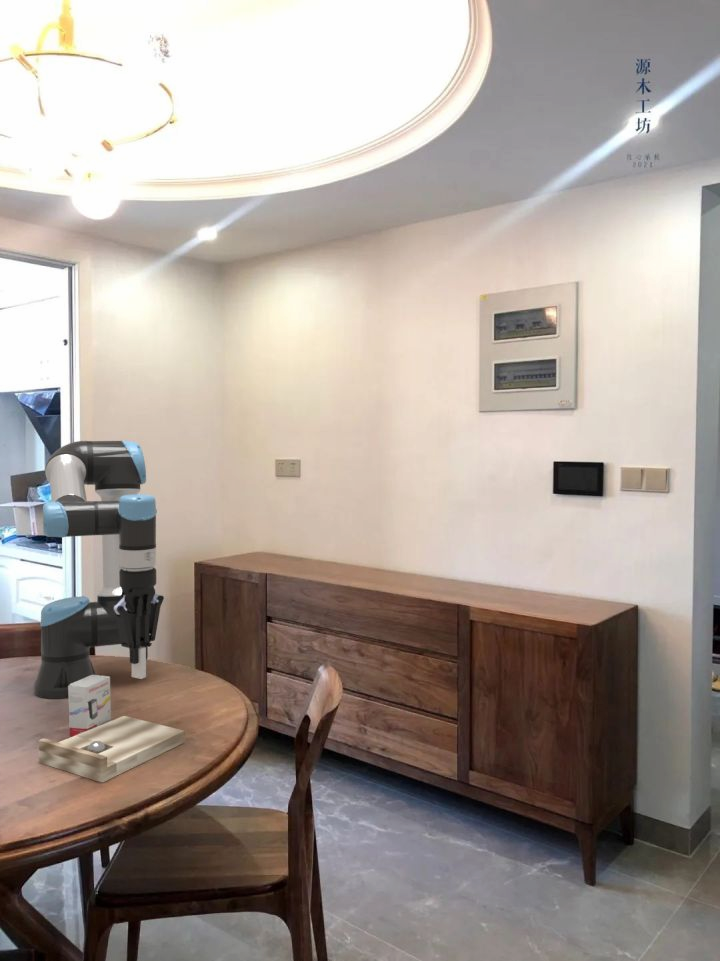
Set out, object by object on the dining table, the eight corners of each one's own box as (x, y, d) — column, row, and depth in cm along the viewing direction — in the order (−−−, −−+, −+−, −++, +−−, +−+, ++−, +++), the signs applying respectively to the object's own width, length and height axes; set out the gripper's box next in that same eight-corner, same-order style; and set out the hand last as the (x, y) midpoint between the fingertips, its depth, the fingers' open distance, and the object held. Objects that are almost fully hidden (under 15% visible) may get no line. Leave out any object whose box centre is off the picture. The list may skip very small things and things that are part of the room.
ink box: (87, 742, 158) (86, 687, 157) (67, 739, 159) (66, 685, 159) (112, 727, 166) (112, 675, 165) (93, 725, 167) (92, 673, 167)
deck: (39, 762, 147) (38, 740, 147) (124, 726, 166) (124, 706, 166) (102, 782, 138) (102, 758, 138) (184, 742, 158) (184, 721, 157)
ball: (79, 755, 147) (88, 737, 149) (93, 759, 150) (101, 741, 151) (91, 759, 145) (99, 740, 147) (104, 763, 148) (112, 745, 149)
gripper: (127, 574, 149) (128, 689, 151) (173, 564, 161) (173, 671, 162) (101, 570, 153) (102, 682, 155) (147, 561, 164) (148, 665, 166)
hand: (138, 676), depth 159 cm, fingers closed
